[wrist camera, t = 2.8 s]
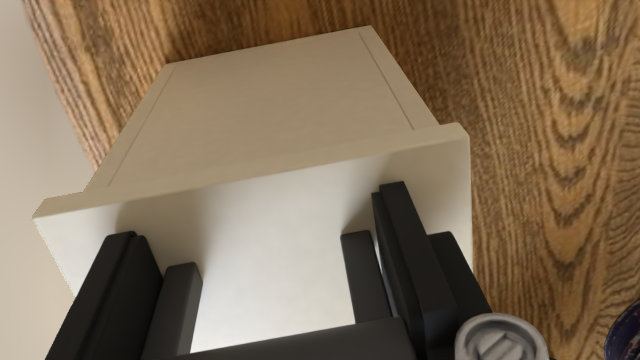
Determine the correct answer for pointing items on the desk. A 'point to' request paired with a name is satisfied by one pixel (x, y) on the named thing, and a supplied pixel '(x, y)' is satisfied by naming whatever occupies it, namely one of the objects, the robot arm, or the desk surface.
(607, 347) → the blue oil drum
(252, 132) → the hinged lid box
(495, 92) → the desk surface
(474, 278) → the robot arm
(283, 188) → the box lid
